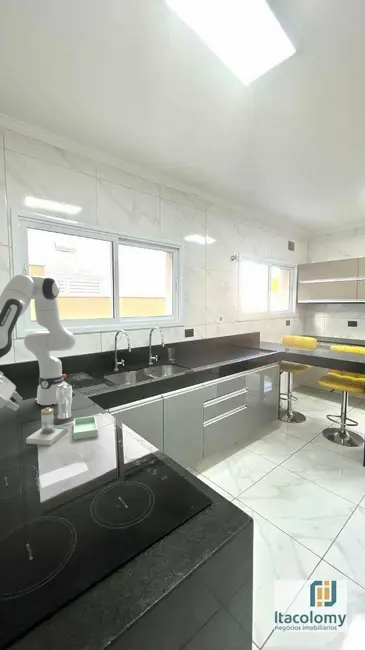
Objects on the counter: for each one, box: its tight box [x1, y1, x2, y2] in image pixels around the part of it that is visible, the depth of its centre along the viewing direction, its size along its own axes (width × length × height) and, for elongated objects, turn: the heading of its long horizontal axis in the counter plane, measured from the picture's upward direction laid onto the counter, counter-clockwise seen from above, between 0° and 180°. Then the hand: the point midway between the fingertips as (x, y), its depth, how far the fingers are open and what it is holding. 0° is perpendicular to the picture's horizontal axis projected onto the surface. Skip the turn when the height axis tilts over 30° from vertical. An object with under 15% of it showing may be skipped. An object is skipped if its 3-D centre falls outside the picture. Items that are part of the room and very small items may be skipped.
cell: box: [40, 406, 55, 434], centre depth 111 cm, size 4×4×10 cm
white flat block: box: [25, 424, 68, 446], centre depth 112 cm, size 12×10×2 cm
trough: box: [72, 415, 99, 441], centre depth 118 cm, size 15×9×3 cm, turn 21°
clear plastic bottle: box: [56, 383, 73, 421], centre depth 132 cm, size 7×7×15 cm
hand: (19, 404), depth 107 cm, fingers open, 8 cm apart
